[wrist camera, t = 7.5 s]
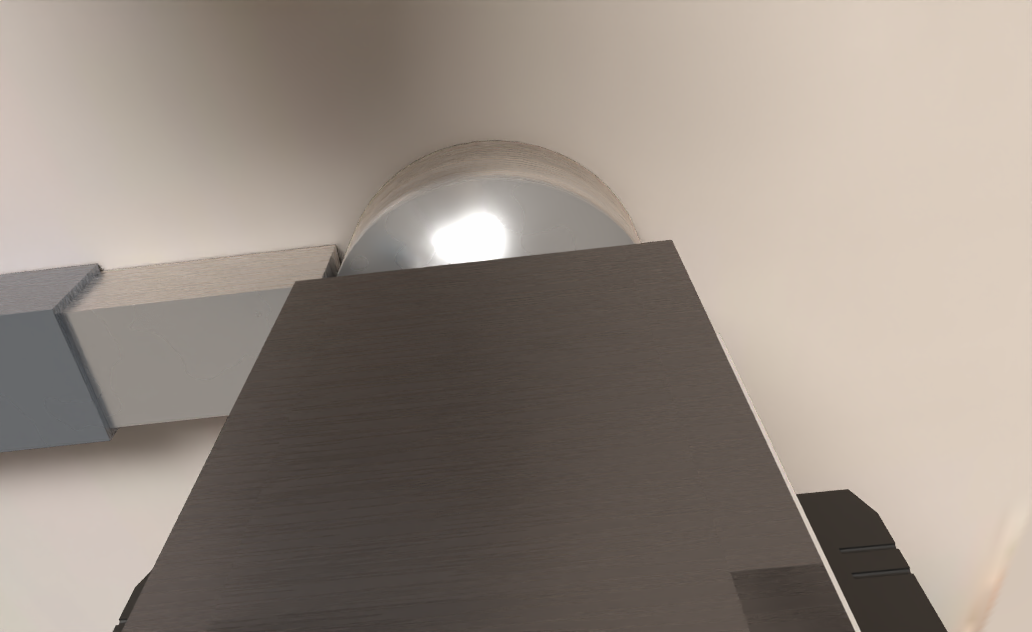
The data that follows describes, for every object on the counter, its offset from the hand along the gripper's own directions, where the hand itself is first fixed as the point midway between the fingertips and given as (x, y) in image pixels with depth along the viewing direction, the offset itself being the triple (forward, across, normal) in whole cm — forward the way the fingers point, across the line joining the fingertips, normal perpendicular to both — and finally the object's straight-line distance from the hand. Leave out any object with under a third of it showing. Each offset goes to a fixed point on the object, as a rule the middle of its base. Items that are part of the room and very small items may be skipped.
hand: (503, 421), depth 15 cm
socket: (0, 0, 0) cm, 0 cm away
